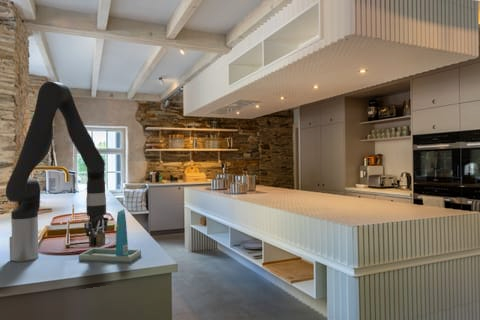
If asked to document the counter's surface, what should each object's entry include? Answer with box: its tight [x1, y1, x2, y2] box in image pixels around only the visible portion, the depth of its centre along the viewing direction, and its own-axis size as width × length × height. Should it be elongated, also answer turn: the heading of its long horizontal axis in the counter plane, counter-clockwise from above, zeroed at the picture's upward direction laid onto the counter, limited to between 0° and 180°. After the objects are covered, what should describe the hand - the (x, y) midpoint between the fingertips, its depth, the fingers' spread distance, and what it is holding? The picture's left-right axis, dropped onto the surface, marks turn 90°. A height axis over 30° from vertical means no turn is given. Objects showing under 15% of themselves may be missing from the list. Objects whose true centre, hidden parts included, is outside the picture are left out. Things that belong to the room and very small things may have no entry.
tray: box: [78, 247, 142, 264], centre depth 141 cm, size 22×10×2 cm, turn 82°
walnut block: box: [88, 232, 106, 248], centre depth 141 cm, size 4×4×5 cm
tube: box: [115, 208, 129, 256], centre depth 140 cm, size 7×5×19 cm, turn 6°
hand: (97, 244), depth 141 cm, fingers closed on walnut block, 4 cm apart
